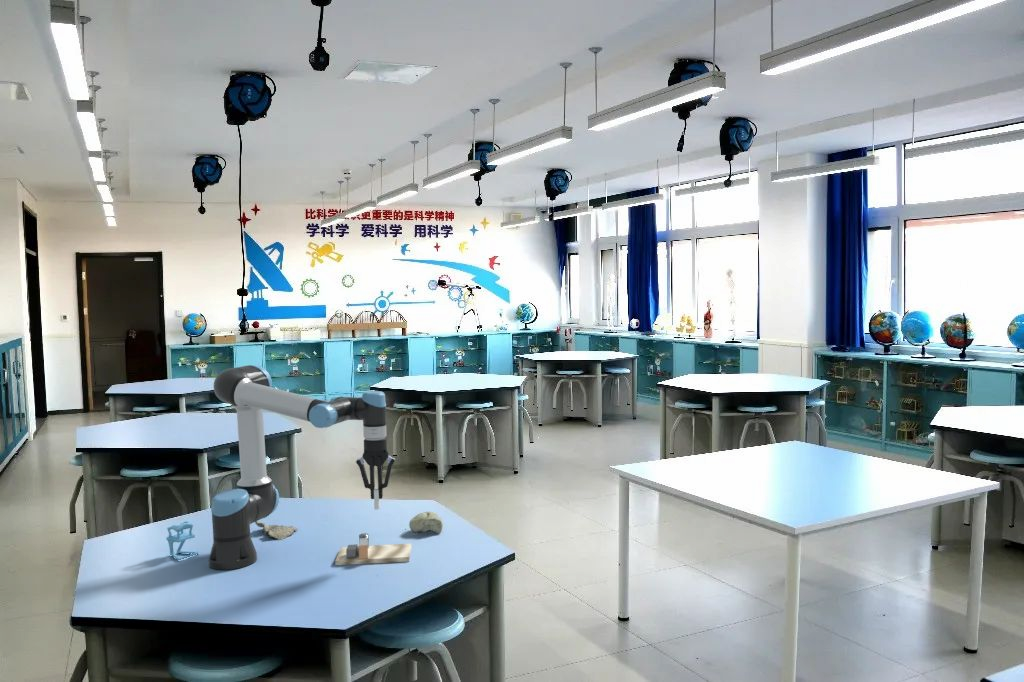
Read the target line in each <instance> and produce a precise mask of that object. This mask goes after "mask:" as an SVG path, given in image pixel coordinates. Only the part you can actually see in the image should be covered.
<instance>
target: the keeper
mask: <svg viewBox="0 0 1024 682" xmlns="http://www.w3.org/2000/svg"><path fill="white" fill-rule="evenodd" d="M358 546H359V545H358V544H348V545H347V546H346V547H347V549H346V556H347V559H350V558H356V556H357V554H358Z"/></svg>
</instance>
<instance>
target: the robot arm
mask: <svg viewBox="0 0 1024 682" xmlns="http://www.w3.org/2000/svg"><path fill="white" fill-rule="evenodd" d="M213 392H214V395H215V396H216V397H217V398H218V400H220V401H221V402H224V403H226V404H228V405H229V404H230V405H231V407H232V408H233V409H234V410H235V411H236V420H237V435H238V450H239V463H240V464H239V465H240V479H239V480H238V481H237V482H236V488H233V489H228V490H224V491H222V492H220V493H217V494H215V496H214V497H213V498H212V500H211V510H210V511H211V520H212V521H211V522H212V537H213V540H212V541H213V542H212V547H211V550H210V552H209V553H210V554H209V557H208V566H210V567H211V569H214V570H217V569H218V570H219V571H221V570H222V571H228V570H230V571H231V570H234V569H235V570H236V569H240V568H246V567H248V566H250V565H253V564H254V563H256V562H257V560H258V553H257V551H256V547H255V545H254V543H253V541H252V538H251V524H253V523H255V522H256V521H257V522H259V521H260V520H262V519H266V518H267V517H268V516H270V515H271V514H272V513H275V511H276V510H277V507H278V506H279V503H280V493H279V491H278V489H277V488H276V486H275V485H274V484H273V482H272V481H273V480H272V478H270V477H269V476H268V474H267V473H268V472H267V456H266V443H265V440H266V439H265V427H264V425H265V424H264V411H267V412H272V413H275V414H280V415H283V416H288V417H289V418H290V417H291V418H293V419H299V420H303V421H306V422H310V423H311V425H312V426H313V427H315V428H318V429H323V428H325V429H326V428H329V427H332V426H333V425H336V424H337V425H338V424H341V423H343V422H346V421H362V424H363V427H362V428H363V429H362V431H363V438H364V440H363V453H362V456H361V457H360V458H357V460H356V461H355V463H356V464H357V466H358V468H359V470H360V471H359V472H360V475H361V479H362V482H363V485H364V488H365V489H369V490H370V499H371V500H373V504H374V505H373V506H374V507H373V508H374V510H376V511H377V510H380V508H381V507H380V500H382V499H383V496H384V495H383V494H384V493H383V490H384V488H387V487H388V486H389V481H390V476H391V471H392V468H393V464H394V463H395V461H396V457H392V456H391V455H389V452H388V441H387V440H388V439H387V438H386V437H387V433H388V432H387V409H386V408H387V403H386V402H387V401H386V394H385V392H383V391H379V390H374V391H373V390H367V391H364V392H362V396H361V397H352V396H334V397H331V399H330V400H328V401H326V400H322V399H317V398H314V397H309V396H306V395H304V394H299V393H295V392H290V391H286V390H283V389H278V388H275V387H273V380H272V377H271V375H270V373H269V372H268V371H267V370H266V369H265V368H264V367H262V366H261V365H256V364H255V365H252V364H251V365H244V366H243V365H242V366H238V367H237V366H236V367H230V368H226V369H224V370H222V371H220V372H219V373H218V374H217V375H216V377H215V378H214V381H213ZM386 461H387V463H388V465H387V468H386V474H385V477H384V481H383V465H384V464H385V463H386ZM365 462H366V464H367V465H368V466H369V478H368V475H367V472H366V467H365V464H364V463H365ZM375 467H376V468H377V486H378V487H376V484H375V482H376V481H375ZM375 487H376V488H375ZM210 567H209V568H210Z"/></svg>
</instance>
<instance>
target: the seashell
mask: <svg viewBox="0 0 1024 682" xmlns="http://www.w3.org/2000/svg"><path fill="white" fill-rule="evenodd" d="M443 524H444V522H443V520H442V518H441V516H440V515H439V514H438V513H435V512H434V511H423V512H420V513H417V515H415V516H414V517H412V518H411V519H410V520H409V523H408V526H409V528H410V530H411V532H414V533H418V532H422V533H425V532H428V531H433V532H434V533H436V534H437V535H439V534H441V533H442V532H443Z"/></svg>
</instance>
